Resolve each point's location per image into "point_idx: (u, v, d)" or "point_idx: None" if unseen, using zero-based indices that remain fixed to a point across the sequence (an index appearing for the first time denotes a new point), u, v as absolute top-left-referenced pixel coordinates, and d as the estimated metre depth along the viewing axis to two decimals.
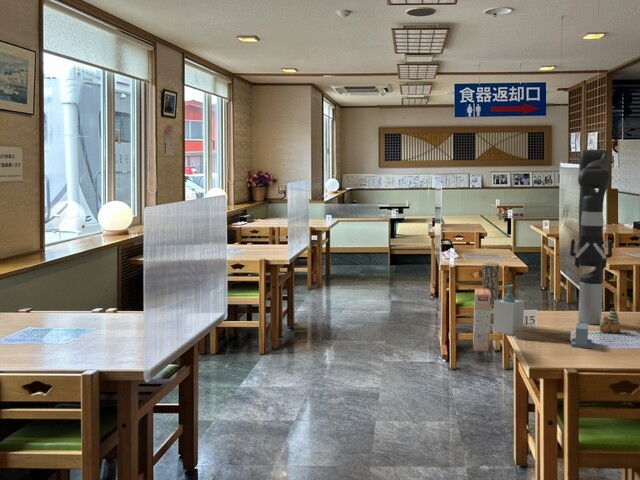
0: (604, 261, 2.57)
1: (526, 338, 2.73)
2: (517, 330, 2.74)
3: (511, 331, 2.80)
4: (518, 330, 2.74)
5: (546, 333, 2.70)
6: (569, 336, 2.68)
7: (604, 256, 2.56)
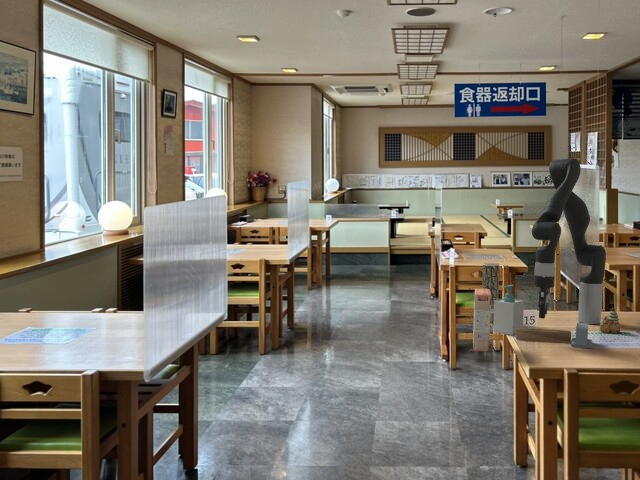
0: (546, 306, 2.76)
1: (527, 339, 2.72)
2: (518, 331, 2.73)
3: (511, 331, 2.80)
4: (519, 331, 2.73)
5: (547, 333, 2.70)
6: (570, 335, 2.69)
7: (547, 302, 2.75)
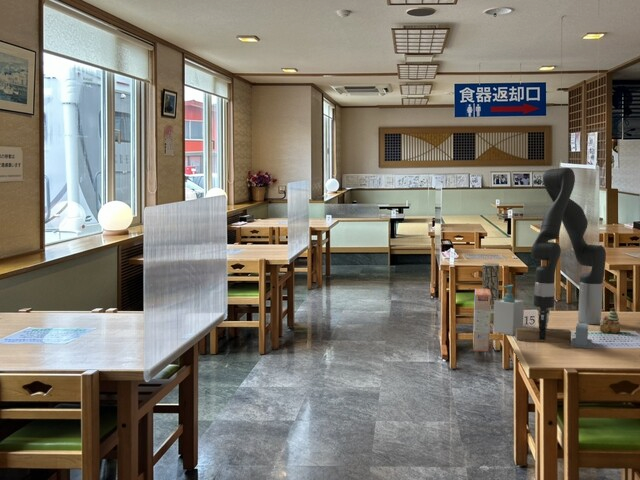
0: (545, 329, 2.75)
1: (527, 338, 2.72)
2: (518, 331, 2.72)
3: (511, 331, 2.80)
4: (519, 331, 2.72)
5: (547, 332, 2.70)
6: (570, 334, 2.69)
7: None
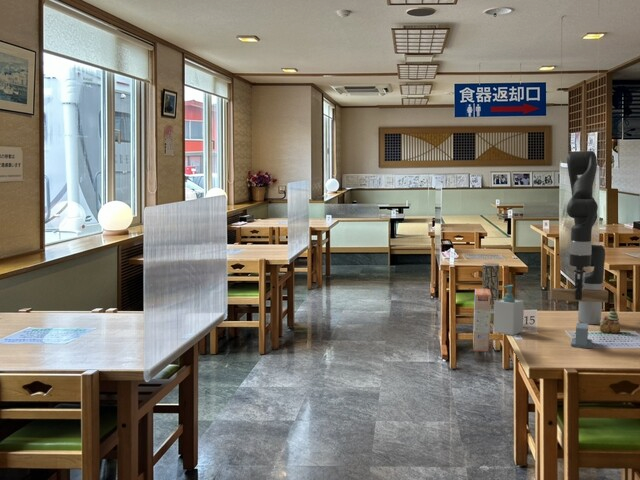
0: None
1: (562, 298, 2.64)
2: (553, 291, 2.65)
3: (511, 331, 2.80)
4: (554, 291, 2.65)
5: (583, 292, 2.63)
6: (607, 294, 2.61)
7: (583, 284, 2.67)
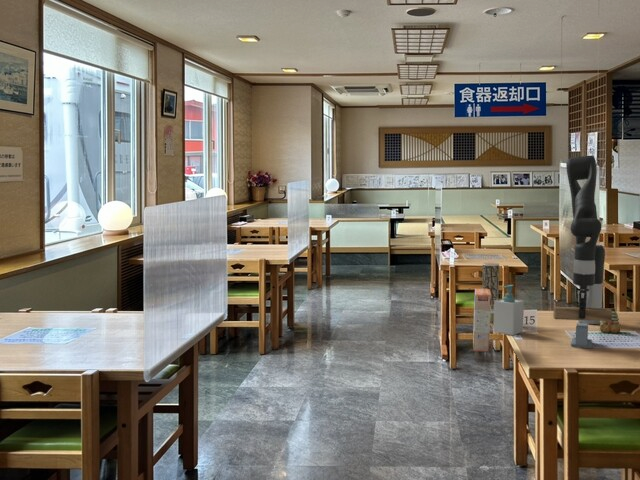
0: None
1: (566, 317, 2.64)
2: (557, 309, 2.64)
3: (511, 331, 2.80)
4: (558, 309, 2.64)
5: (587, 311, 2.63)
6: (610, 313, 2.61)
7: (586, 303, 2.67)
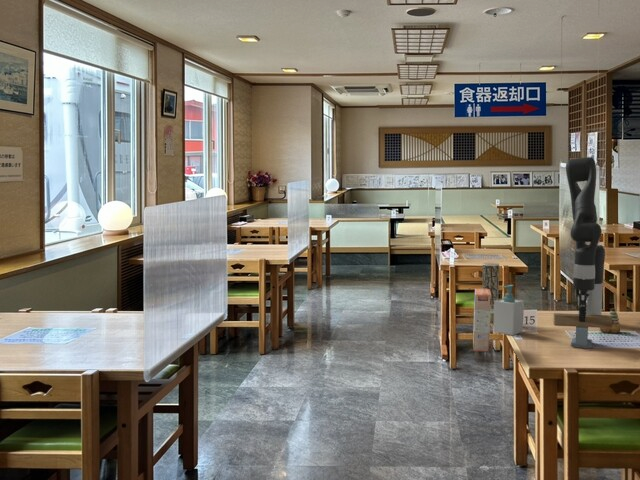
0: None
1: (566, 324, 2.65)
2: (556, 316, 2.65)
3: (511, 331, 2.80)
4: (557, 316, 2.65)
5: (587, 318, 2.63)
6: (610, 320, 2.61)
7: None
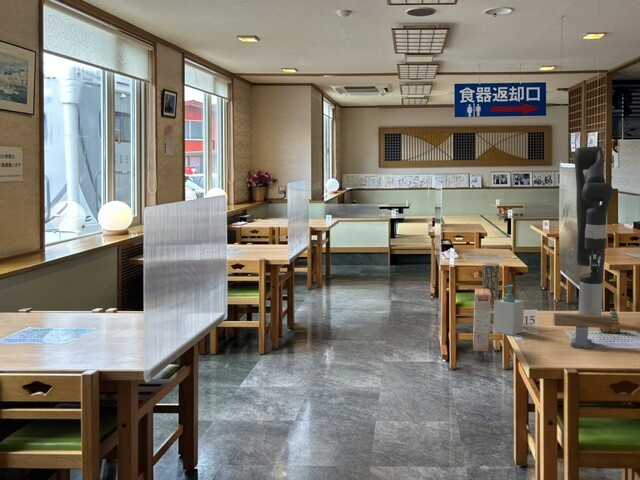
0: None
1: (566, 324, 2.65)
2: (556, 316, 2.65)
3: (511, 331, 2.80)
4: (557, 316, 2.65)
5: (587, 318, 2.63)
6: (610, 320, 2.61)
7: None
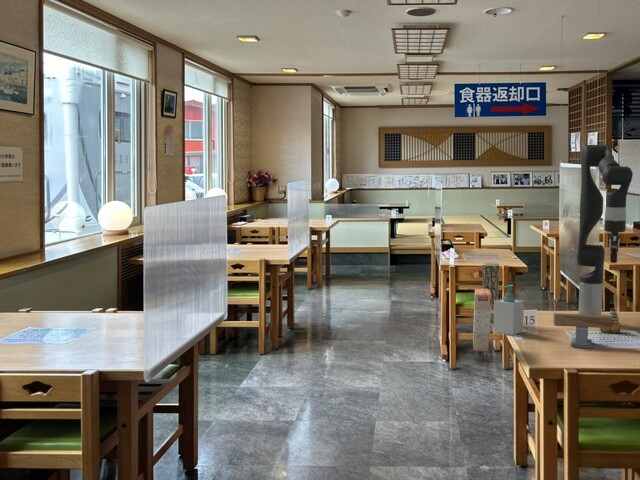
0: None
1: (566, 324, 2.65)
2: (556, 316, 2.65)
3: (511, 331, 2.80)
4: (557, 316, 2.65)
5: (587, 318, 2.63)
6: (610, 320, 2.61)
7: None
